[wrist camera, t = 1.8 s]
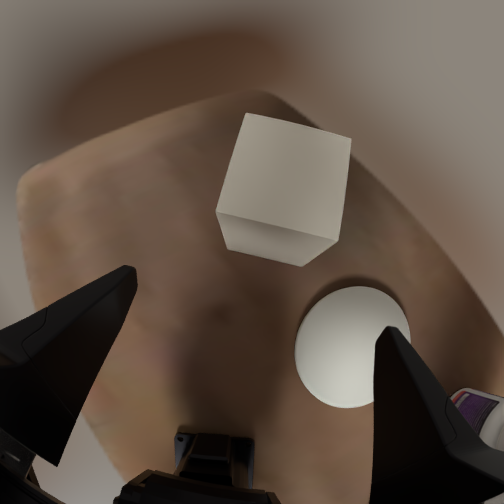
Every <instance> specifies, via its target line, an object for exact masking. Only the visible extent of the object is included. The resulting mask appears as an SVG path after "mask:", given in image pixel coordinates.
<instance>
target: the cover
mask: <svg viewBox="0 0 504 504" xmlns="http://www.w3.org/2000/svg"><path fill="white" fill-rule="evenodd" d="M350 149H351V138H347V137H344V136H341V135H338V134H334V133H331V132H327V131H324V130H320V129H316V128H312V127H309V126H305V125H301V124H297V123H293V122H288V121H284V120H280V119H275V118H270V117H266V116H261V115H256V114H250V113H246V114H245V117H244V120H243V123H242V126H241V129H240V132H239V135H238V138H237V142H236V145H235V148H234V151H233V154H232V158H231V161H230V164H229V167H228V171H227V174H226V177H225V181H224V184H223V187H222V191H221V194H220V198H219V201H218V205H217V208H216V215H217V218H218V221H219V224H220V227H221V230H222V234H223V237H224V240H225V243H226V246H227V249H229V250H233V251H237V252H241V253H245V254H250V255H254V256H258V257H262V258H266V259H271V260H275V261H279V262H283V263H287V264H292V265H296V266H300V267H303V266H304V265H305V264H307V263H308V262H310V261H311V260H312V259H314V258H315V257H317V256H318V255H319V254H321V253H322V252H324V251H325V250H326V249H328V248H329V247H331V246H332V245H333V244H335V243H336V242H338V239H339V233H340V226H341V220H342V213H343V206H344V199H345V192H346V184H347V176H348V168H349V159H350Z"/></svg>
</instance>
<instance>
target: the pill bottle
mask: <svg viewBox="0 0 504 504" xmlns="http://www.w3.org/2000/svg"><path fill="white" fill-rule="evenodd" d="M451 400H452V401H453V403H454V404H455V406H456V407H457V408H458V410H459V411H460V412H461V414H462V415H463V416H464V418H465V419H466V420H467V421H468V423H469V424H470V425H471V426H472V428H473V429H474V430H475V431H476V433H477V434H478V435H479V437H480V438H481V439H482V440H483V441H484V443H486V444H487V445H488V446H490V447H492V448H494V449H497V450H500V451H504V397H501V396H497V395H493V394H490V393H486V392H483V391H479V390H475V389H471V388H463V389H461V390H459V391H457V392H456V393H455V394H454V395H452V397H451Z"/></svg>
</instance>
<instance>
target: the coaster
mask: <svg viewBox="0 0 504 504" xmlns="http://www.w3.org/2000/svg"><path fill="white" fill-rule="evenodd" d="M386 326H394V327H397V328H398V329H399V330H400V331H401V333H402V334H403V335H404V336H405V338H406V339H407V340H408V342H409V343H410V330H409V326H408V322H407V320H406V317H405V315H404V313H403V311H402V309H401V308H400V307H399V305H398V304H397V303H396V302H395V301H394V300H393V299H392V298H391V297H390V296H388V295H387V294H385V293H383V292H382V291H379V290H377V289H374V288H370V287H363V286H356V287H349V288H344V289H340V290H337V291H334V292H332V293H330V294H328V295H327V296H325V297H324V298H322V299H321V300H319V301H318V302H317V303H316V304H315V305H314V306H313V307H312V308H311V309H310V310H309V312H308V313H307V315H306V316H305V317H304V319H303V321H302V323H301V325H300V327H299V330H298V333H297V336H296V340H295V348H294V358H295V364H296V368H297V372H298V374H299V376H300V379H301V380H302V382H303V383H304V385H305V386H306V388H307V389H308V390H309V391H310V392H311V394H313V395H314V396H315V397H316V398H317V399H319V400H320V401H322V402H324V403H326V404H329V405H331V406H335V407H341V408H354V407H359V406H363V405H366V404H369V403H371V402H373V401H374V400H373V373H374V355H375V343H376V340H377V338H378V337H379V336H380V334H381V333H382V331H383V330H384V328H385V327H386Z"/></svg>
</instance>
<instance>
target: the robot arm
mask: <svg viewBox="0 0 504 504" xmlns="http://www.w3.org/2000/svg"><path fill="white" fill-rule="evenodd" d="M137 287H138V283H137V273H136V269H135V268H134V267H132V266H128V265H123V266H121V267H119V268H117V269H116V270H114V271H112V272H110V273H108V274H106V275H104V276H102V277H100V278H98V279H96V280H95V281H93V282H91V283H89V284H87V285H85V286H83V287H81V288H80V289H78V290H76V291H74V292H72V293H70V294H69V295H67V296H65V297H63V298H61V299H59V300H58V301H56V302H54V303H52V304H50V305H49V306H48V307H45V308H43V309H42V310H40V311H38V312H36V313H34V314H32V315H31V316H29V317H27V318H25V319H23V320H21V321H19V322H17V323H14V324H12V325H10V326H8V327H6V328H4V329H2V330H0V504H65V503H63V502H61V501H60V500H58V499H57V498H55V497H53V496H52V495H50V494H48V493H47V492H45V491H44V490H42V489H41V488H40V486H39V483H38V480H37V478H36V475H35V473H34V470H33V467H32V463H33V460H34V458H35V456H36V454H37V455H38V456H40V457H41V458H43V459H45V460H46V461H48V462H49V463H51V464H53V465H54V466H56V467H57V466H58V464H59V462H60V459H61V457H62V454H63V452H64V449H65V446H66V444H67V442H68V439H69V437H70V435H71V432H72V430H73V427H74V425H75V423H76V420H77V418H78V416H79V413H80V411H81V409H82V407H83V404H84V402H85V400H86V398H87V396H88V394H89V391H90V389H91V387H92V385H93V383H94V381H95V379H96V377H97V375H98V373H99V371H100V369H101V367H102V365H103V363H104V361H105V359H106V357H107V355H108V353H109V351H110V349H111V347H112V345H113V343H114V341H115V339H116V337H117V335H118V333H119V332H120V330H121V328H122V325H123V323H124V321H125V318H126V316H127V313H128V311H129V308H130V306H131V303H132V301H133V299H134V296H135V294H136V291H137ZM373 400H374V441H373V467H372V484H371V493H370V504H504V451H500V450H497V449H494V448H492V447H490V446H488V445H487V444H486V443H484V441H483V440H482V439H481V438H480V437H479V435H478V434H477V433H476V431H475V430H474V429H473V428H472V426H471V425H470V424H469V423H468V421H467V420H466V419H465V418H464V416H463V415H462V414H461V412H460V411H459V410H458V408H457V407H456V406H455V404H454V403H453V401H452V400H451V398H450V397H449V396H447V393H446V391H445V390H444V389H443V387H442V386H441V384H440V383H439V382H438V380H437V379H436V377H435V376H434V375H433V373H432V372H431V371H430V369H429V368H428V367H427V365H426V364H425V363H424V361H423V360H422V359H421V357H420V356H419V355H418V353H417V352H416V351H415V349H414V348H413V347H412V345H411V344H410V343H409V342H408V340H407V339H406V338H405V336H404V335H403V334H402V333H401V331H400V330H399V329H398V328H397V327H394V326H386V327H385V328H384V330H383V331H382V333H381V334H380V336H379V337H378V338H377V340H376V343H375V355H374V373H373ZM178 437H182V438H183V440H180V439H179V438H178ZM174 441H175V461H176V471H175V473H174V475H172V474H168V473H164V472H161V471H157V470H155V471H152V470H149V469H147V470H146V471H144V472H143V473H141V474H140V475H138V476H137V477H135V478H134V479H132V480H131V481H129V482H128V483H127V484H126V485H124V486H123V487H122V490H121V493H120V495H119V496H117V497H115V498H114V500H113V504H281V503H280V501H279V500H278V498H277V496H276V495H275V493H274V492H265V491H264V490H257V489H252V479H253V463H254V440H253V439H251V438H240V437H230V436H229V435H220V434H208V433H198V434H190V433H182V432H179V433H177V434H176V435H175V438H174ZM247 442H249V443H251V444H250V445H246V444H245V443H247Z"/></svg>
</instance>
